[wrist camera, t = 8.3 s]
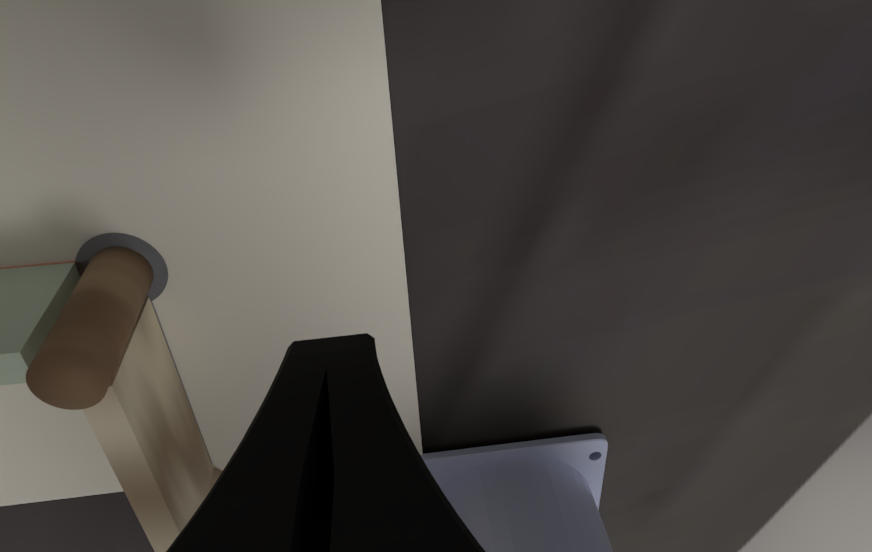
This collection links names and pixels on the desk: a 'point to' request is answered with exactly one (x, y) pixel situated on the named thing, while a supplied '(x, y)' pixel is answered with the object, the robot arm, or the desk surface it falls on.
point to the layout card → (202, 198)
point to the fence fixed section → (127, 392)
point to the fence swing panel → (30, 313)
